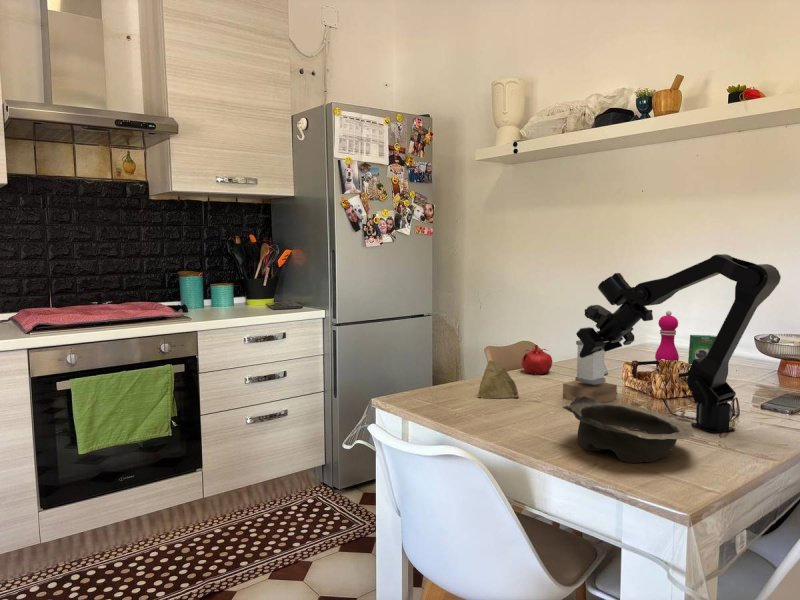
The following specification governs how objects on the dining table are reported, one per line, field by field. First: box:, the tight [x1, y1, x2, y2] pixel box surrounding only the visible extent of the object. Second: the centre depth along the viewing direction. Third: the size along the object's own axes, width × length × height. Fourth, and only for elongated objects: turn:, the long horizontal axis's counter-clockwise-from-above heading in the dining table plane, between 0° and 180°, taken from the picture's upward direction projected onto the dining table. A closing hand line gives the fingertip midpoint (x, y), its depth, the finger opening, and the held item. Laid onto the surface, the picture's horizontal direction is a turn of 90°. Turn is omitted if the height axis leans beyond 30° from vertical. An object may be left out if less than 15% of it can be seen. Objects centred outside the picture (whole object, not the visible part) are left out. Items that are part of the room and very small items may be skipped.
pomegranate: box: [521, 344, 553, 375], centre depth 195 cm, size 10×10×9 cm
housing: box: [574, 339, 606, 385], centre depth 161 cm, size 6×5×11 cm
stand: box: [562, 380, 618, 404], centre depth 162 cm, size 10×10×4 cm
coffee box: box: [687, 334, 717, 364], centre depth 190 cm, size 8×3×13 cm, turn 90°
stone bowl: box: [562, 396, 695, 464], centre depth 122 cm, size 25×25×9 cm
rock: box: [477, 360, 520, 399], centre depth 164 cm, size 11×9×10 cm
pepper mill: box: [654, 310, 680, 361], centre depth 198 cm, size 7×7×20 cm
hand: (586, 355), depth 162 cm, fingers closed on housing, 5 cm apart
